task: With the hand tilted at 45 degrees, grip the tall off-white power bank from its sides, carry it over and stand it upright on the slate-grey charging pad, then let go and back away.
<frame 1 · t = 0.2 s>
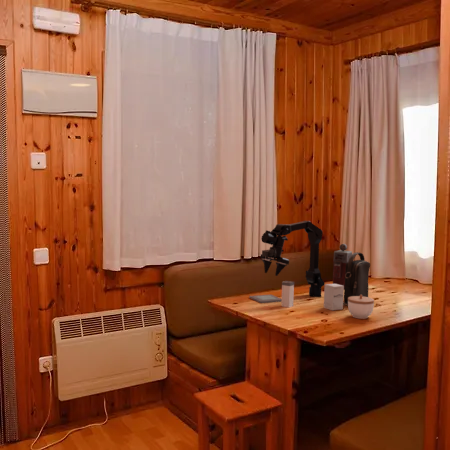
hand: (270, 274, 286), 15 cm above the table, tool tilted 15°, fingers open, 9 cm apart
charging pad: (266, 299, 293), on the table
power bank: (287, 306, 278), on the table
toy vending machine: (341, 288, 330), on the table
supplement box: (333, 308, 275), on the table
lidded bowl: (360, 317, 259), on the table
shoulder bag: (356, 302, 291), on the table
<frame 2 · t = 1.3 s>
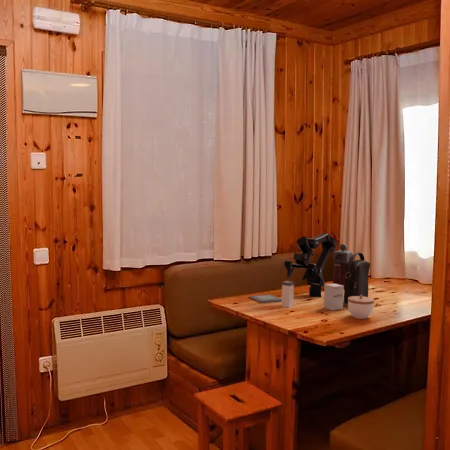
hand: (295, 279, 284), 13 cm above the table, tool tilted 45°, fingers open, 9 cm apart
nothing on the table moved.
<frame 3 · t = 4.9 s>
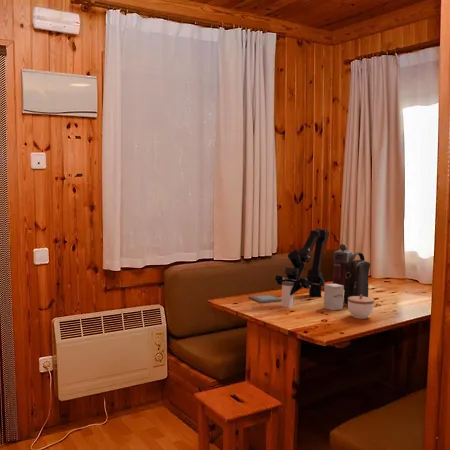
hand: (286, 294, 277), 7 cm above the table, tool tilted 45°, fingers closed on power bank, 5 cm apart
power bank: (287, 306, 278), on the table, touching gripper
everything else where it was.
when the fingers open (9 cm above the table, at t = 9.5 s): power bank drops 1 cm, resting on charging pad.
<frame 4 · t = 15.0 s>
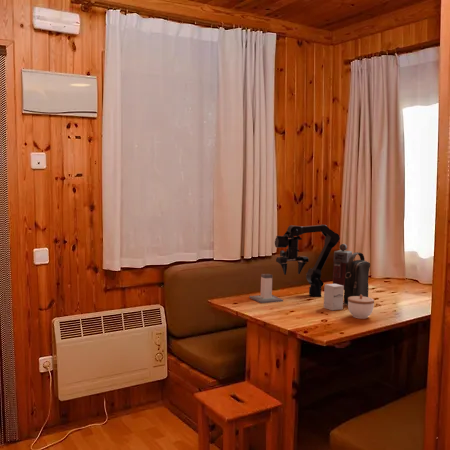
hand: (292, 274, 301), 13 cm above the table, tool pointing down, fingers open, 9 cm apart
power bank: (266, 297, 292), point 1 cm above the table, touching charging pad
everything else where it was.
at the end: power bank inside the target area on the charging pad (0.1 cm from its centre), point 1.1 cm above the charging pad's base; power bank tilted 0°; the gripper is holding nothing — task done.
